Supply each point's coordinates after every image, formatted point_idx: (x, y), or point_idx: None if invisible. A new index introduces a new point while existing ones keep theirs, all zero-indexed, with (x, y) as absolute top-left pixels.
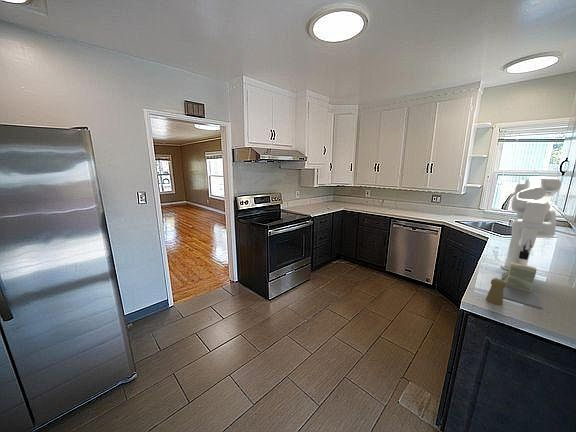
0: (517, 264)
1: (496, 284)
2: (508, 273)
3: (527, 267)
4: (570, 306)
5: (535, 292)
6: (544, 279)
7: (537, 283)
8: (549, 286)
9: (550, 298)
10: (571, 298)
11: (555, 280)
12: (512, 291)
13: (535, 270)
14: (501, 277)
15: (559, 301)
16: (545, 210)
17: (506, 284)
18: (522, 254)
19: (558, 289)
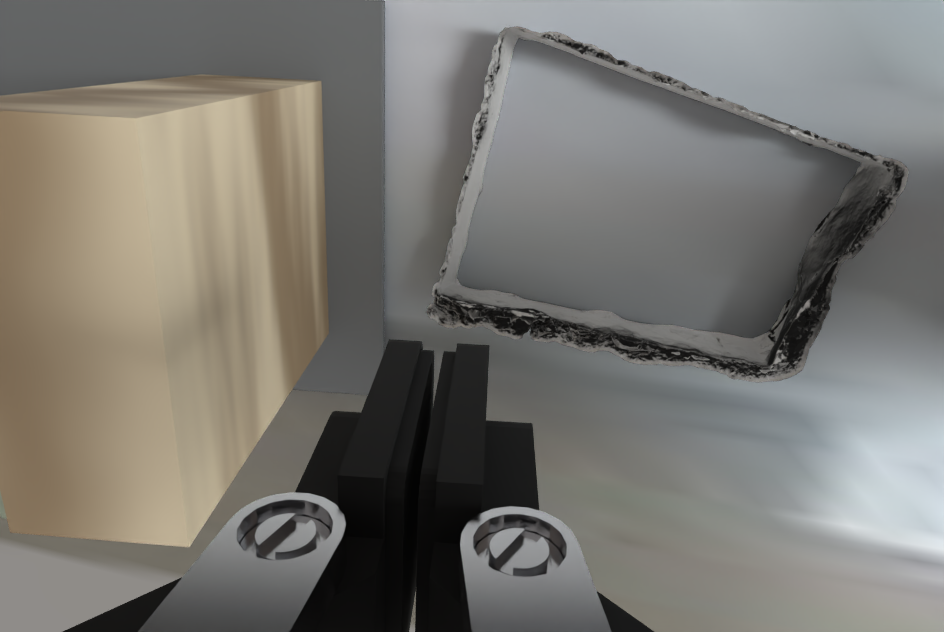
0: (63, 246)
1: None
2: (230, 91)
3: (20, 410)
4: (175, 573)
5: None
6: (891, 536)
7: (664, 443)
8: (644, 533)
9: (239, 470)
10: (410, 625)
11: (929, 626)
12: None
13: (6, 509)
14: (507, 30)
15: (225, 523)
16: None
17: (194, 75)
18: (307, 468)
19: (605, 587)
